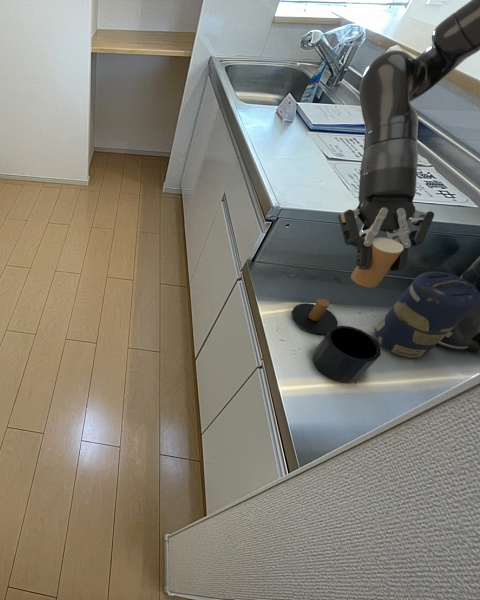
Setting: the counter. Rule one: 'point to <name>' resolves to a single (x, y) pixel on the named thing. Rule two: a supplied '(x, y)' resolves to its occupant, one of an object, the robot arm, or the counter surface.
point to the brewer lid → (314, 317)
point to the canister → (426, 313)
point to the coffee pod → (378, 262)
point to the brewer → (346, 354)
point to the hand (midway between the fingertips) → (380, 269)
